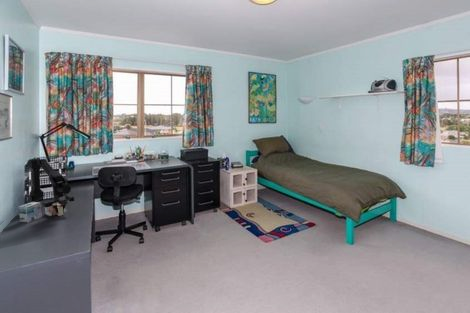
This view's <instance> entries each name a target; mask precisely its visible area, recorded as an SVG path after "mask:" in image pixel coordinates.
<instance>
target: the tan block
mask: <svg viewBox="0 0 470 313" xmlns="http://www.w3.org/2000/svg"><path fill="white" fill-rule="evenodd" d="M66 212H67V209H66V208H64V212H63V213H66ZM44 214H45V215H47V216H49V217H51V216H53V215H52V213H51V212H50V210H49V207H44Z"/></svg>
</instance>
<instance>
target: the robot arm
mask: <svg viewBox="0 0 470 313" xmlns="http://www.w3.org/2000/svg"><path fill="white" fill-rule="evenodd" d="M47 160H48V159H46V158H39V157H38V158H29V159H28V160H27V162H26V163H27V167H28V169H29V170H30V172H31V173H30V175H31V190H30V192H29V196H28V198H27V199H26V202H27V204H28V203H31V202H40V205H41V204H42V206H41V211H42V208H45V207H51V206H52V207H53V208H54V210H55V211H56V213H57V214H58V208H57V206H58V205H56V204H61V206H62V207H63V213H65V212H64V209H66V208H65V207H66V206H67V204H69V203H70V202H74V201H76V200H75V197H74V196H72V195H67V194H69V193H70V192H71V191H72V188H71V186H70V185H69V184H68V183H67V179H65V177H64V175H63V174H61V173H60V172H59V171H57V170H55V169H54V168H53V167H52V165H51V164H50V163H49V162H48V161H47ZM41 169H42V170H43V171H44V172H45V173H46V175H47V176H48V180H49V182H50V183H51V184H50V186H52V195H53V199H52V200H53V201H50V200H46V201H44V197H45V194H44V191H43V190H42V189H41V179H40V178H41V177H40V175H41V174H40V170H41ZM41 201H43V202H42V203H41ZM57 214H56V215H57Z"/></svg>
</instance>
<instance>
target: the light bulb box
mask: <svg viewBox="0 0 470 313" xmlns="http://www.w3.org/2000/svg"><path fill="white" fill-rule="evenodd" d="M40 204H41V201H40V202H31V203H28V202H27V203H25V204H22V205H19V206H18V214H19V221H20V222H21V223H22V222H23V223H30V222H32V221H34V220H35V221H36V220H38V219H40V218H43V216H42V210H41V207H42V206H41V205H40Z"/></svg>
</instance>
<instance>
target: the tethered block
mask: <svg viewBox="0 0 470 313" xmlns="http://www.w3.org/2000/svg"><path fill="white" fill-rule="evenodd" d="M56 205H58V206H57V208H58V214H57V213H56V211H55V210H54V208H53V207H52V206H51V207H49V210H50V212H51V213H52V216H55V215H57V216H59V217H60V216H64V212H63V207H62V206H61V204H59V203H56Z"/></svg>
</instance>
